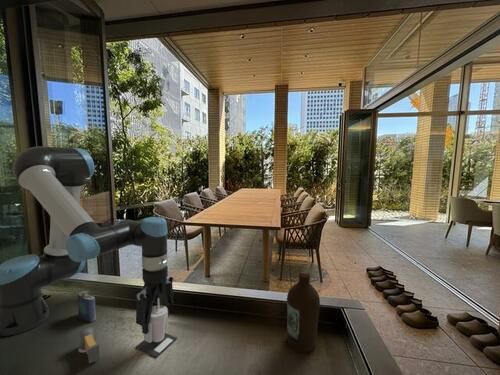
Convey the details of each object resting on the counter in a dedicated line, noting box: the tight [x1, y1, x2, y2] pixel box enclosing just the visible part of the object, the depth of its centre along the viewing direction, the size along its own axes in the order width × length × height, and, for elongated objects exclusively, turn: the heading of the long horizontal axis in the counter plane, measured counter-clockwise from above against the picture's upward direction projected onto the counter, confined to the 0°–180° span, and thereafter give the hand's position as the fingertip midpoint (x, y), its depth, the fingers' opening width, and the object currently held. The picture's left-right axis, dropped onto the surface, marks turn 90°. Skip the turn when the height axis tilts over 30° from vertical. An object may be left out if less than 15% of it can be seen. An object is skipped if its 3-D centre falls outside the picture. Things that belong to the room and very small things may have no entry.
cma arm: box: [79, 326, 100, 364], centre depth 76 cm, size 11×4×5 cm, turn 44°
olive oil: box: [286, 268, 321, 354], centre depth 82 cm, size 11×11×25 cm
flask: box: [77, 290, 97, 323], centre depth 93 cm, size 9×3×11 cm, turn 61°
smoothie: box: [150, 297, 168, 342], centre depth 80 cm, size 6×6×14 cm
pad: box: [135, 332, 178, 359], centre depth 81 cm, size 9×9×1 cm
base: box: [77, 339, 98, 354], centre depth 79 cm, size 5×5×1 cm
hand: (156, 333), depth 81 cm, fingers closed on smoothie, 6 cm apart
